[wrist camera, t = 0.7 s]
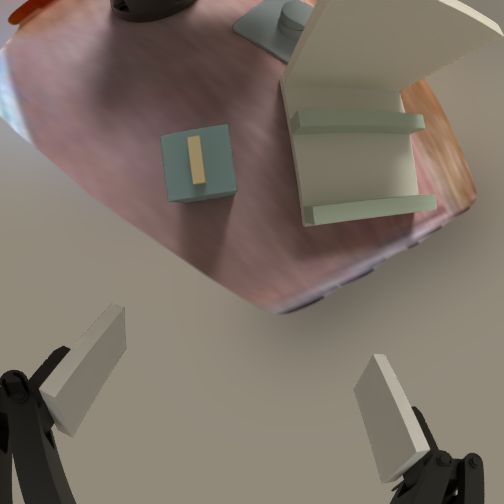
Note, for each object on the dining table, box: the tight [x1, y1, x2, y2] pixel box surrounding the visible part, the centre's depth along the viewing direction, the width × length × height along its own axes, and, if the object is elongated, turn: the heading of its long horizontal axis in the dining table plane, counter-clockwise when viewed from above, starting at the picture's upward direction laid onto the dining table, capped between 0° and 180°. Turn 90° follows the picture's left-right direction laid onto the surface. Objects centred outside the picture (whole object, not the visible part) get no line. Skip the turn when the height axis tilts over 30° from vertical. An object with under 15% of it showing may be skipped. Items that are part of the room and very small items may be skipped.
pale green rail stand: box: [279, 0, 504, 227], centre depth 23 cm, size 20×18×24 cm
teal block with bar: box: [161, 124, 237, 203], centre depth 28 cm, size 6×6×12 cm
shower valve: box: [233, 0, 314, 64], centre depth 29 cm, size 12×6×15 cm
